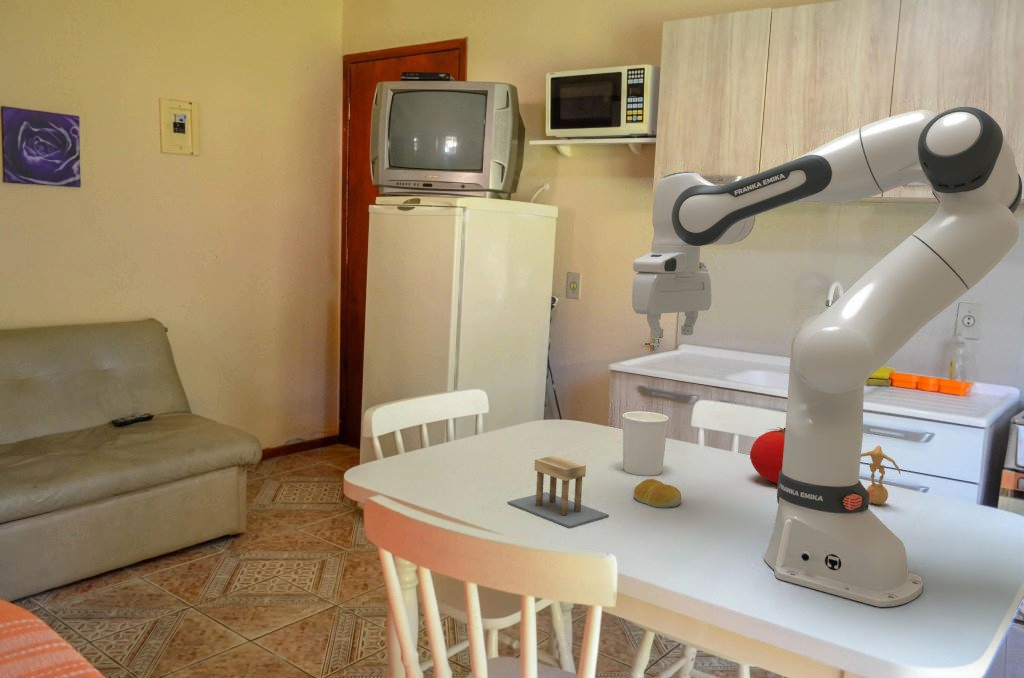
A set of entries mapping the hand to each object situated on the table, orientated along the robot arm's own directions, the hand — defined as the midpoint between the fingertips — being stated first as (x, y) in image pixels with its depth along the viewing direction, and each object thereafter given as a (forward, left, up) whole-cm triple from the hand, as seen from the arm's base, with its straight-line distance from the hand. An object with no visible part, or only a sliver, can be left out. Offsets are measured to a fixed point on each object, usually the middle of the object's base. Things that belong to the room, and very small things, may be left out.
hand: (672, 336), depth 153 cm
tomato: (-7, -32, -32) cm, 45 cm away
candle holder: (+16, -14, -32) cm, 38 cm away
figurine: (-26, -33, -32) cm, 52 cm away
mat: (+8, +20, -32) cm, 38 cm away
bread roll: (+1, +1, -32) cm, 32 cm away
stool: (+8, +20, -31) cm, 38 cm away
